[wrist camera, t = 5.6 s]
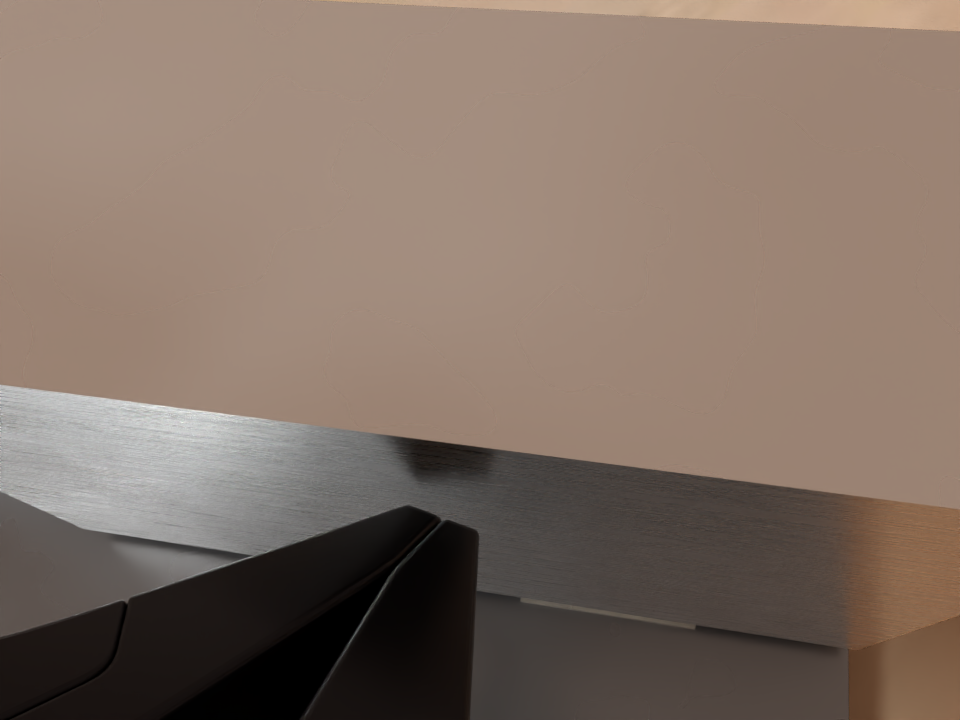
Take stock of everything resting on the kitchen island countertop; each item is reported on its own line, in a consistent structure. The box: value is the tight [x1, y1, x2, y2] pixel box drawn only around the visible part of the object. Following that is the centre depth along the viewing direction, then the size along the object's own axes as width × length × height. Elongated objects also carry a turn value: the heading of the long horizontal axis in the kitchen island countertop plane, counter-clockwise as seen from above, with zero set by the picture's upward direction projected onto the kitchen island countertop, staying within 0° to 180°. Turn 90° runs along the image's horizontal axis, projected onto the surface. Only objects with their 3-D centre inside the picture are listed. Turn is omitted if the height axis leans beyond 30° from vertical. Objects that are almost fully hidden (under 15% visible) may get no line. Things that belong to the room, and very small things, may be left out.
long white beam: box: [0, 0, 960, 650], centre depth 12 cm, size 5×16×8 cm, turn 80°
